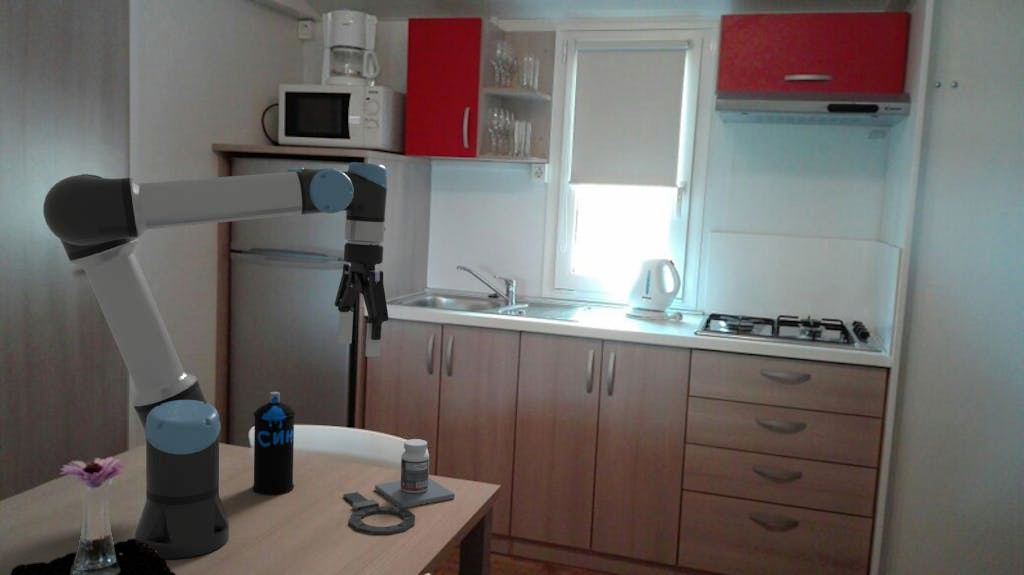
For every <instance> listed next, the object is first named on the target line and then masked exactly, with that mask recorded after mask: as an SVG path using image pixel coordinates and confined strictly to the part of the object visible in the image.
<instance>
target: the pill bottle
mask: <svg viewBox="0 0 1024 575" xmlns="http://www.w3.org/2000/svg"><path fill="white" fill-rule="evenodd" d="M403 449H404V451H403V452H402V454H401V462H400V480H401V489H402V490H403V491H405V492H408V493H422V492H425V491H426V490H427V489H428V487H429V478H430V453H429V452H428V451H427V449H428V442H427V440H423V439H420V438H412V439H407V440H405V441H404V443H403Z"/></svg>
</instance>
